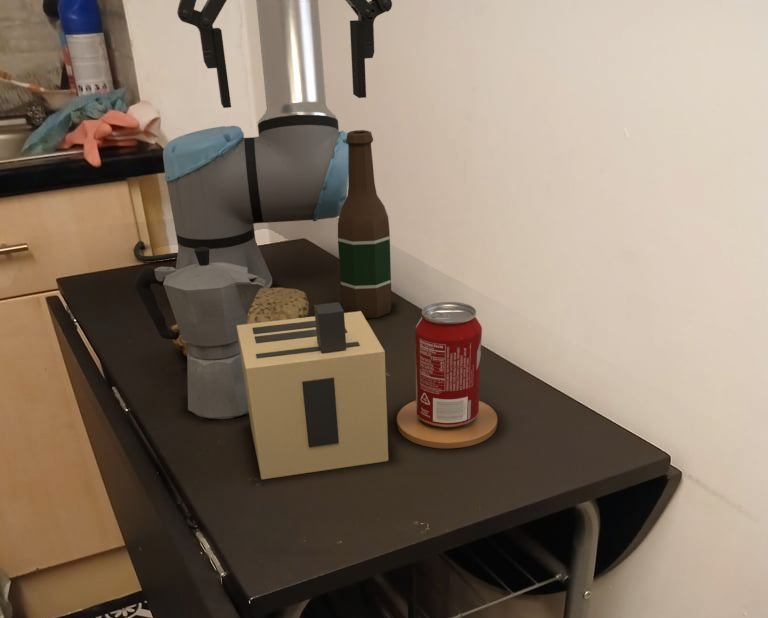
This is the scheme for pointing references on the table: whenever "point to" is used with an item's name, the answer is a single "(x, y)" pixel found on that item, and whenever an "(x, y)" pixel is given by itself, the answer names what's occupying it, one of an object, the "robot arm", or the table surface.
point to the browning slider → (330, 327)
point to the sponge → (267, 309)
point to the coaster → (446, 429)
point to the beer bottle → (363, 236)
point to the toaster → (314, 396)
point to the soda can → (448, 364)
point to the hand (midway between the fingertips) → (294, 101)
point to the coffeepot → (206, 328)
